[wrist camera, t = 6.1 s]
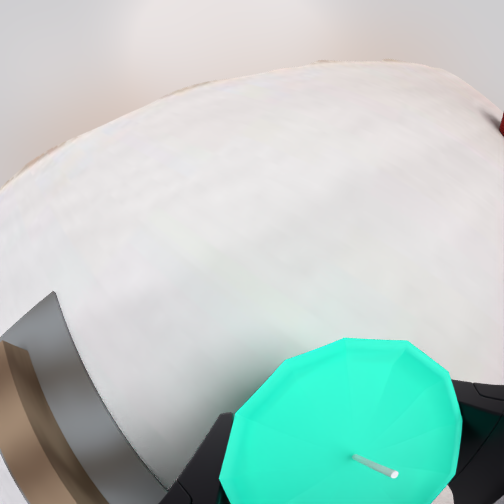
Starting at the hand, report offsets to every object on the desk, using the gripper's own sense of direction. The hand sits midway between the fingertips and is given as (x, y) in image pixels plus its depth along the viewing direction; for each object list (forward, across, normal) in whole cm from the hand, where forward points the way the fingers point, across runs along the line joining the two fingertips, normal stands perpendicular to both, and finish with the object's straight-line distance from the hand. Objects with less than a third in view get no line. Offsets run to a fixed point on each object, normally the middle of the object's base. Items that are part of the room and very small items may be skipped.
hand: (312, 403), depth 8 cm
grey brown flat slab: (+2, -16, -8) cm, 18 cm away
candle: (+4, 0, -6) cm, 7 cm away
